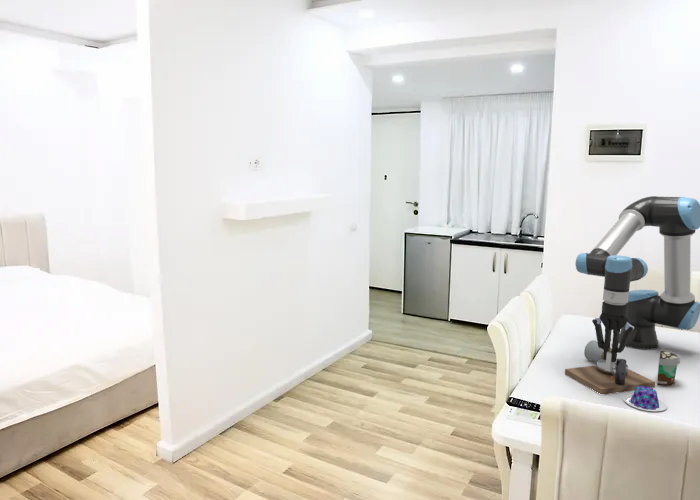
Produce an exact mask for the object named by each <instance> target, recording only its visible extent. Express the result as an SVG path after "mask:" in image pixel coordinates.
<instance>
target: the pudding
mask: <svg viewBox="0 0 700 500" xmlns="http://www.w3.org/2000/svg"><path fill="white" fill-rule="evenodd" d="M633 391H634V392H632V393H633V394H631V393H630V394H627V395H625V396H623V398H622V399H623V402H625V403H626V404H628V406H630V407H634V408H636V409H639V410H642V411H647V412H663V411H665V410H666V409H667V408H668V406H667V404H666V403H665V402H664V401H663V400H660V399H659V397H658V392H657V391H656V390H655V388H650V387H645V386H637V387H636V388H635V390H633ZM628 398H631V400H630V403H628V402H627V401H626V400H627V399H628Z"/></svg>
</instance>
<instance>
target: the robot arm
mask: <svg viewBox="0 0 700 500" xmlns="http://www.w3.org/2000/svg"><path fill="white" fill-rule="evenodd" d="M649 226H650V227H656V228H658V229H659V231H658V233H659V234H660V235H661V236H663V252H664V253H663V254H664V255H663V257H664V258H663V260H664V263H663V264H664V265H663V267H664V271H663V272H664V274H663V275H664V277H663V278H664V279H663V280H664V291H663V292H661V293H660V294H659V291H657V290H654V289H634V290H630V286H631V282H632V283H633V282H636V281H640V280H641V279H643V278H644V277H646V275H647V274H648V271H649V269H648V264H647V263H646V261H644V260H643V259H642V258H638V257H630V256H627V255H619V253H620V251H621V250H622V249H623V248H624V247H625V245H626V244H627V243H628V242H629V240H631V238H632V237H633V236H634V235H635V234H636V232H638V231H641V230H642V229H643V228H644V227H649ZM699 229H700V202H699V201H698V200H697V199H696V198H694V197H685V196H657V195H655V196H654V195H652V196H651V195H650V196H646V197H643V198H640V199H637V200H636V201H633V202H632V203H630V204H629V205H627V207H625V208H624V209H623V210H622V211H620V213H619V214H618V220H617V221H616V222H615V224H614V225H613V226H611V228H610V229H609V230H608V232H606V234H605V235H604V236H603V237H602V238H601V240H600V241H599V242H598V243H597V244H596V245H595V247H593V249H592V250H591V251H590V252H581V253H579V254H578V255H577V256H576V259H575V270H576V271H577V272H579V273H580V274H585V275H588V276H596V277H604V283H603V294H602V300H603V301H602V304H601V314H600V315H599V317H595V318H594V319H592V320H591V321H592V324H593V326H594V327H595V328H594V329H595V335H596V342H598V347H599V348H601V349H603V350H604V357H603V359H604V360H606V367H605V371H609V372H610V371H611V370H612V369H613V362H615V361H616V360H617V359H618V354H621V353H622V352H623V351H624V350H625V349H626V347H629V348H633V349H639V350H655V349H657V348H658V347H659V339H658V335H657V332H656V325H660V326H665V327H671V328H675V329H678V330H685V331H689V330H692V329H693V328H694V327H695V326H696V324H697V322H698V320H699V318H700V302H698V301H695V300H696V299H695V298H696V296H695V295H694V293H692V292H691V239H692V238H691V237H692V236H693V235H694V234H695V233H696V230H699ZM602 324H603V326H602ZM602 327H604V333H603V328H602ZM611 341H612V343H611ZM609 349H612V351H611V350H609Z"/></svg>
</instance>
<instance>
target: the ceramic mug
mask: <svg viewBox="0 0 700 500" xmlns="http://www.w3.org/2000/svg"><path fill="white" fill-rule="evenodd" d="M609 350H611V351H612V348H611V349H609ZM583 353H584V354H583V355H584V358H586V359H587V360H590V361H592V362H594V363H597V361H598V360H601V359H603V357H604V350H603V349H601V348H599V347H598V342H597V340H590V341H588V342H587V343H586V345H585V346H584V350H583Z"/></svg>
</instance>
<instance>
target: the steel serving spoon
mask: <svg viewBox="0 0 700 500" xmlns="http://www.w3.org/2000/svg"><path fill="white" fill-rule="evenodd" d="M596 365H597V369H598V370H600V371H601V372H604V373H607V374H612V376H613V377H614V379H615V383H616V384H620V385H623V384H625V375H626V374H627V373H628V369H629V365H628V364H627V360H626V359H625V358H617V360H616V361H615V362H613V369H612V370H611V371H610V372H609V371H605V367H606V360H604V359H601V360H598V361H597V362H596Z"/></svg>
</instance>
